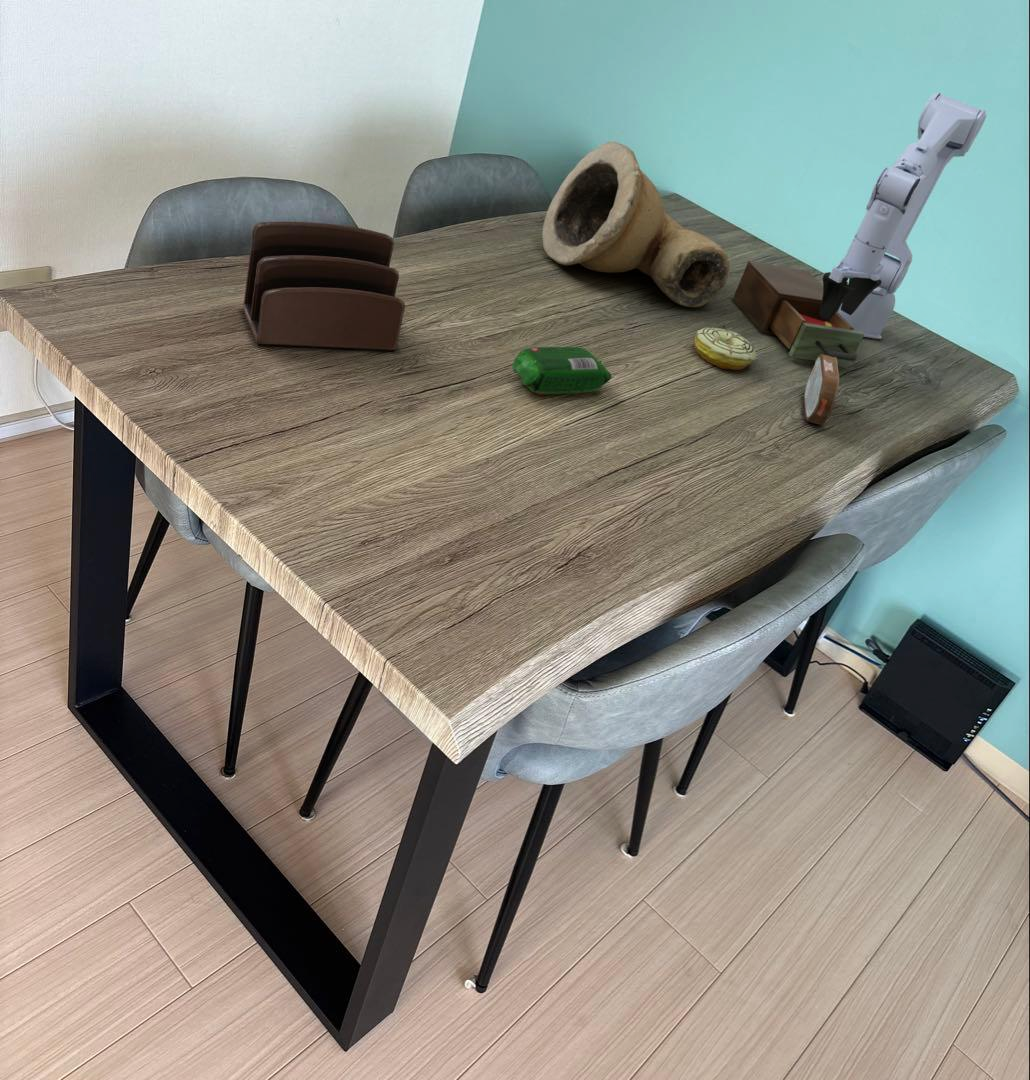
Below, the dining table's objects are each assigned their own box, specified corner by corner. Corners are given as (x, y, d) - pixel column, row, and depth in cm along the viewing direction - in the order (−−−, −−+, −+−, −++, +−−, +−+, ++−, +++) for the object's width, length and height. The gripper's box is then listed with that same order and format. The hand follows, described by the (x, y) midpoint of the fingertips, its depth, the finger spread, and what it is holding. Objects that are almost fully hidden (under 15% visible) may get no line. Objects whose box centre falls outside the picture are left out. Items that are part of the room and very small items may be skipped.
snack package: (613, 398, 152) (624, 367, 149) (523, 400, 144) (533, 367, 141) (589, 373, 156) (600, 343, 153) (501, 374, 148) (510, 341, 145)
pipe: (697, 353, 195) (596, 303, 175) (615, 282, 213) (515, 229, 192) (773, 247, 187) (676, 182, 166) (681, 182, 205) (583, 116, 184)
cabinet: (822, 342, 193) (841, 303, 188) (761, 333, 188) (779, 293, 183) (791, 308, 203) (808, 271, 198) (732, 299, 198) (748, 260, 193)
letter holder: (242, 309, 143) (253, 213, 135) (377, 318, 152) (395, 228, 143) (255, 345, 136) (268, 246, 128) (396, 352, 145) (416, 259, 137)
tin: (821, 435, 160) (845, 388, 155) (802, 428, 160) (825, 382, 156) (817, 394, 173) (839, 350, 168) (799, 388, 173) (820, 344, 168)
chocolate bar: (827, 341, 188) (835, 325, 186) (829, 350, 185) (837, 333, 183) (786, 328, 188) (793, 311, 186) (787, 337, 184) (795, 320, 182)
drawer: (861, 379, 181) (878, 347, 177) (803, 371, 177) (819, 339, 173) (816, 332, 194) (831, 301, 190) (761, 323, 189) (775, 292, 186)
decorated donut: (762, 369, 175) (771, 349, 173) (724, 377, 168) (733, 357, 166) (717, 339, 180) (725, 320, 178) (679, 346, 173) (687, 326, 171)
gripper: (870, 255, 164) (833, 330, 172) (910, 249, 174) (873, 320, 182) (835, 236, 168) (800, 311, 176) (876, 231, 177) (841, 302, 185)
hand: (835, 314), depth 179 cm, fingers open, 7 cm apart
